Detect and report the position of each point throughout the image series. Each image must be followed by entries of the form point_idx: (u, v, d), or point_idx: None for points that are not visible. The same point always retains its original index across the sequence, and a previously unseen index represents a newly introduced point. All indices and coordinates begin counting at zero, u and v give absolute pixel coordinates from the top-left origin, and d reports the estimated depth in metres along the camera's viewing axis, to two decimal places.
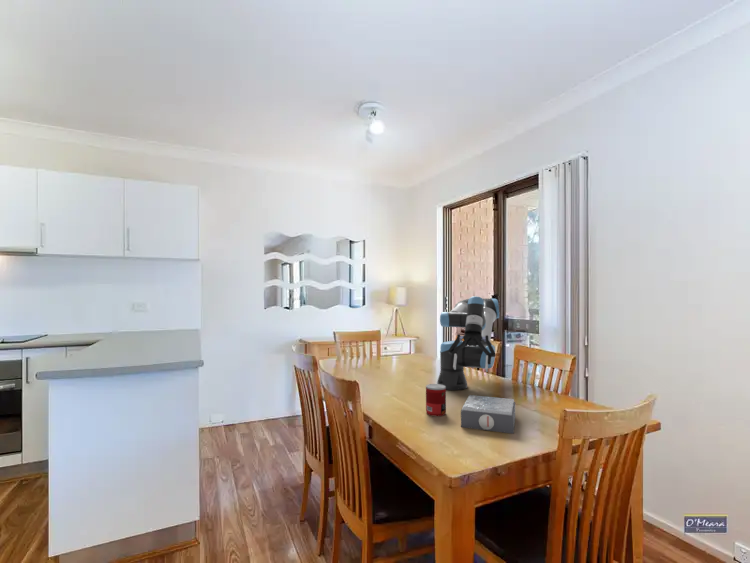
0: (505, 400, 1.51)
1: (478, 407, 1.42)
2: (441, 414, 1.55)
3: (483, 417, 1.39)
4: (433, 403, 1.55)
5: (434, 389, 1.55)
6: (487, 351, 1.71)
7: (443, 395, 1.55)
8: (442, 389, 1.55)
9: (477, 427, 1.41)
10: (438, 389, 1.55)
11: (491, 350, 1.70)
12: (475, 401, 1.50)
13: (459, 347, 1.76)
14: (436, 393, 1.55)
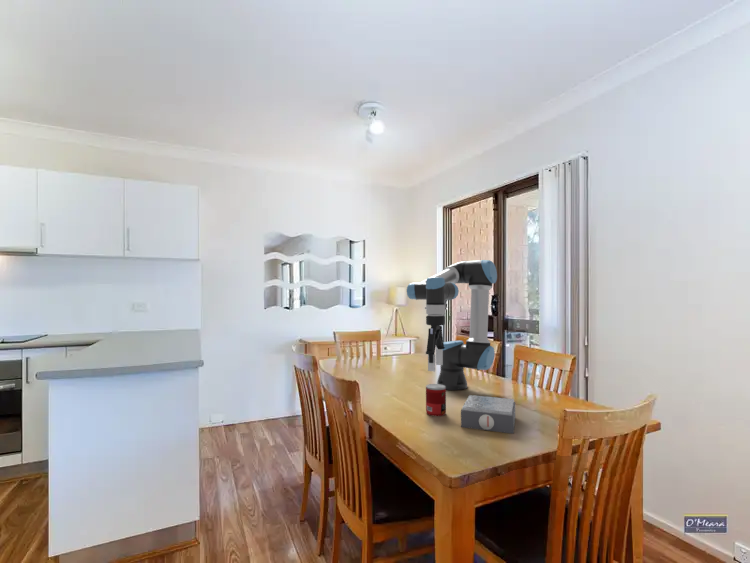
0: (505, 400, 1.51)
1: (478, 407, 1.42)
2: (441, 414, 1.55)
3: (483, 417, 1.39)
4: (433, 403, 1.55)
5: (434, 389, 1.55)
6: None
7: (443, 395, 1.55)
8: (442, 389, 1.55)
9: (477, 427, 1.41)
10: (438, 389, 1.55)
11: None
12: (475, 401, 1.50)
13: (435, 342, 1.64)
14: (436, 393, 1.55)
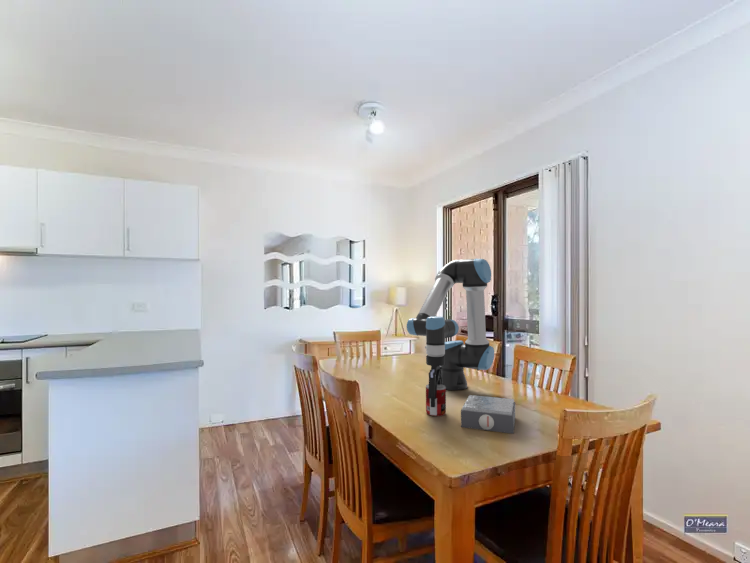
0: (505, 400, 1.51)
1: (478, 407, 1.42)
2: (441, 414, 1.55)
3: (483, 417, 1.39)
4: None
5: None
6: None
7: (443, 395, 1.55)
8: (442, 389, 1.55)
9: (477, 427, 1.41)
10: (438, 389, 1.55)
11: (429, 392, 1.53)
12: (475, 401, 1.50)
13: None
14: None
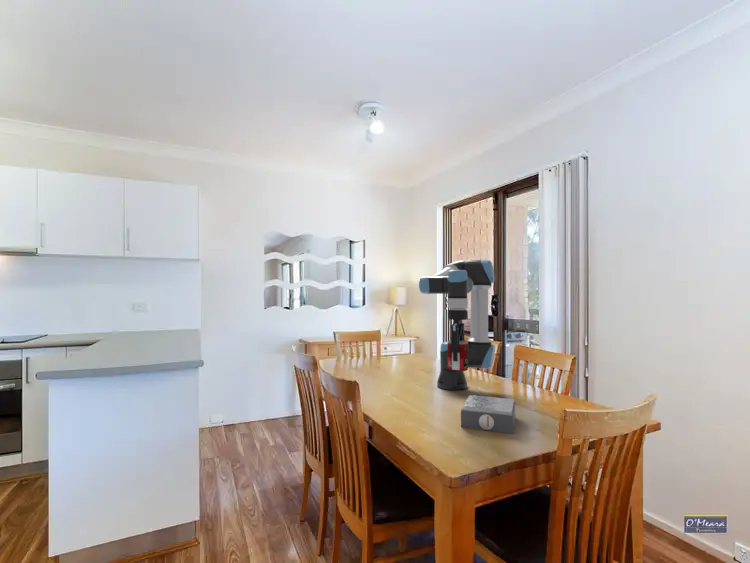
0: (505, 400, 1.51)
1: (478, 407, 1.42)
2: (463, 369, 1.50)
3: (483, 417, 1.39)
4: None
5: None
6: None
7: (465, 350, 1.51)
8: (464, 343, 1.51)
9: (477, 427, 1.41)
10: (460, 343, 1.50)
11: (451, 345, 1.49)
12: (475, 401, 1.50)
13: None
14: None
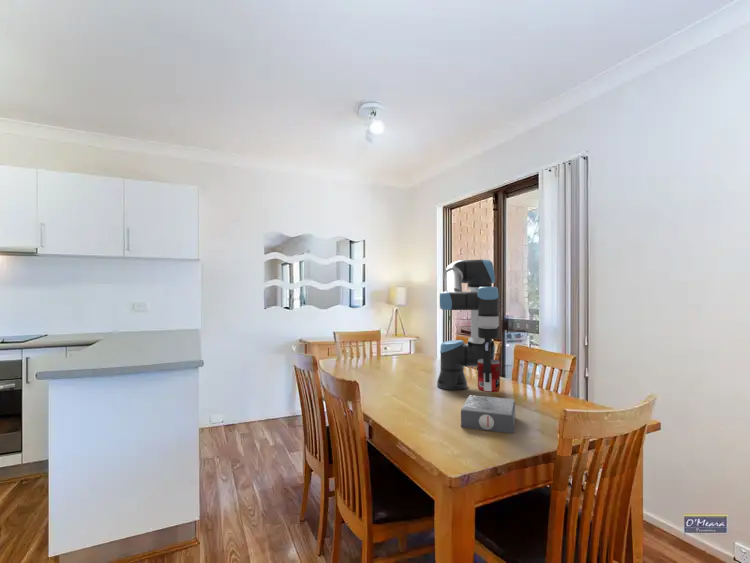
0: (505, 400, 1.51)
1: (478, 407, 1.42)
2: (495, 390, 1.44)
3: (483, 417, 1.39)
4: None
5: None
6: None
7: (497, 370, 1.45)
8: (496, 363, 1.45)
9: (477, 427, 1.41)
10: (492, 363, 1.44)
11: None
12: (475, 401, 1.50)
13: None
14: None
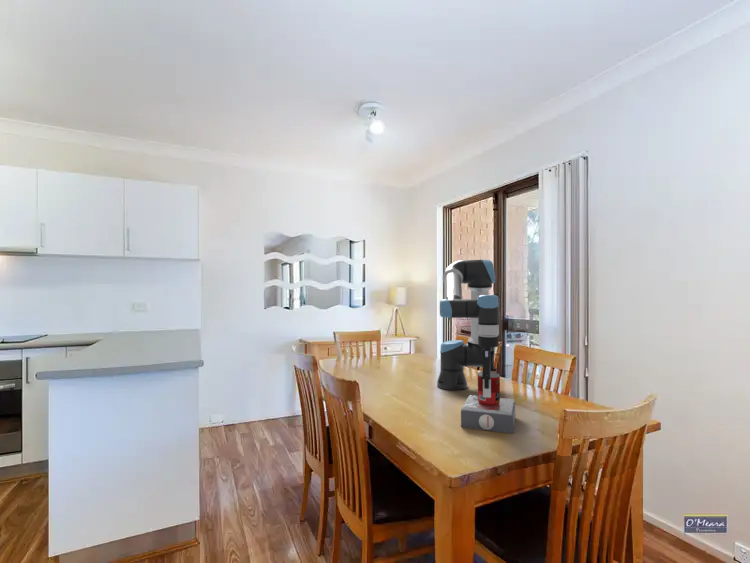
0: (505, 400, 1.51)
1: (478, 407, 1.42)
2: (495, 403, 1.44)
3: (483, 417, 1.39)
4: None
5: None
6: None
7: (497, 383, 1.45)
8: (496, 377, 1.45)
9: (477, 427, 1.41)
10: (492, 376, 1.44)
11: None
12: (475, 401, 1.50)
13: None
14: None
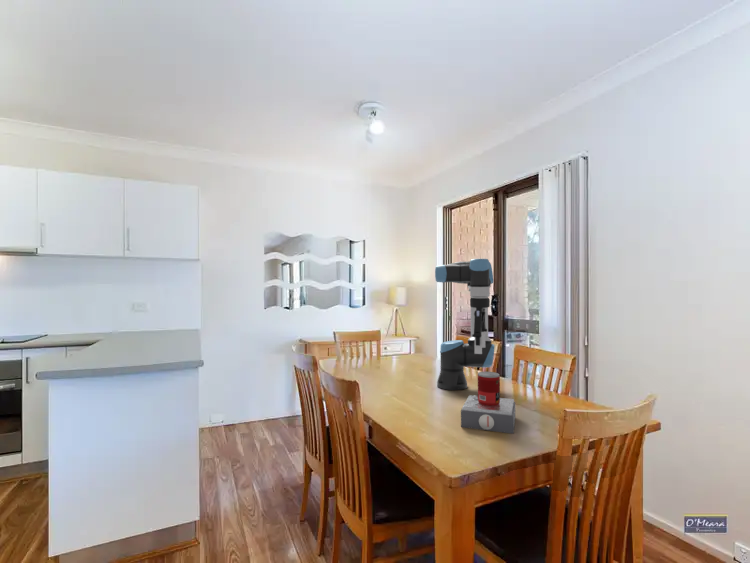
0: (505, 400, 1.51)
1: (478, 407, 1.42)
2: (495, 403, 1.44)
3: (483, 417, 1.39)
4: (487, 391, 1.45)
5: (488, 377, 1.44)
6: None
7: (497, 383, 1.45)
8: (496, 377, 1.45)
9: (477, 427, 1.41)
10: (492, 377, 1.44)
11: (474, 330, 1.49)
12: (475, 401, 1.50)
13: None
14: (490, 381, 1.44)
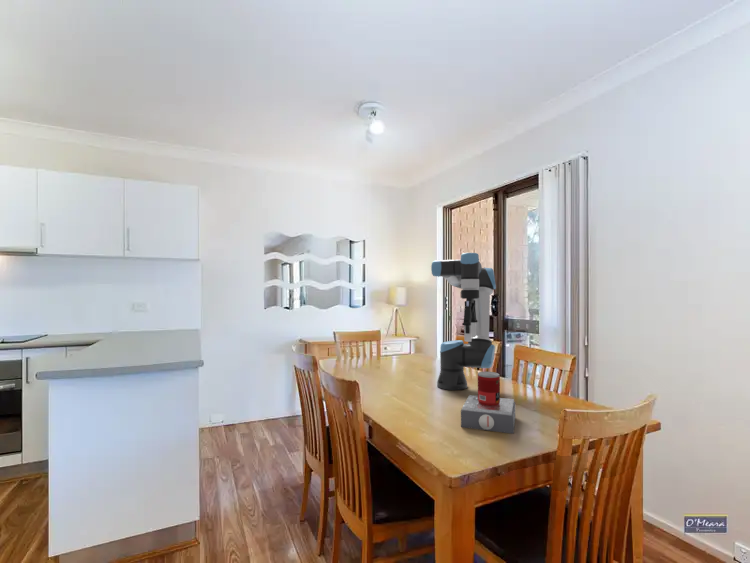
0: (505, 400, 1.51)
1: (478, 407, 1.42)
2: (495, 403, 1.44)
3: (483, 417, 1.39)
4: (487, 391, 1.44)
5: (488, 377, 1.44)
6: None
7: (497, 383, 1.45)
8: (496, 377, 1.45)
9: (477, 427, 1.41)
10: (492, 377, 1.44)
11: (464, 319, 1.59)
12: (475, 401, 1.50)
13: None
14: (490, 381, 1.44)
